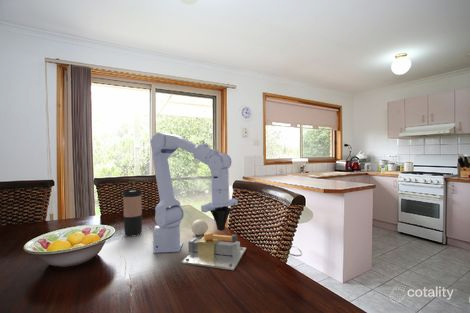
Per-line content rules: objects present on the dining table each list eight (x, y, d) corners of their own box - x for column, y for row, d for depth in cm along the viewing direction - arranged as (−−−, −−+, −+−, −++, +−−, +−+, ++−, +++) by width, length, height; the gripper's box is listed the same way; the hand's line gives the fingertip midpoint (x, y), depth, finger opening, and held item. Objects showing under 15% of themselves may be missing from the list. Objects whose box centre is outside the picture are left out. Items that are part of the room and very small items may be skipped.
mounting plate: (181, 263, 75) (181, 260, 75) (201, 244, 90) (201, 242, 90) (233, 270, 70) (233, 267, 70) (246, 249, 85) (246, 246, 85)
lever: (202, 239, 81) (202, 234, 81) (206, 236, 84) (206, 231, 84) (236, 242, 77) (236, 237, 77) (238, 239, 80) (238, 234, 80)
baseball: (205, 237, 98) (205, 222, 98) (189, 237, 99) (189, 221, 99) (210, 232, 104) (209, 218, 104) (195, 231, 106) (194, 217, 106)
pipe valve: (187, 253, 81) (187, 240, 81) (194, 247, 87) (194, 235, 87) (236, 258, 76) (236, 245, 76) (240, 251, 82) (240, 239, 82)
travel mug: (120, 235, 103) (119, 191, 103) (133, 230, 110) (132, 188, 110) (133, 237, 100) (132, 192, 100) (145, 232, 107) (145, 189, 107)
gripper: (210, 193, 68) (211, 238, 68) (243, 187, 78) (244, 227, 78) (196, 190, 73) (197, 233, 73) (229, 186, 83) (230, 223, 83)
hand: (220, 229), depth 76 cm, fingers closed
